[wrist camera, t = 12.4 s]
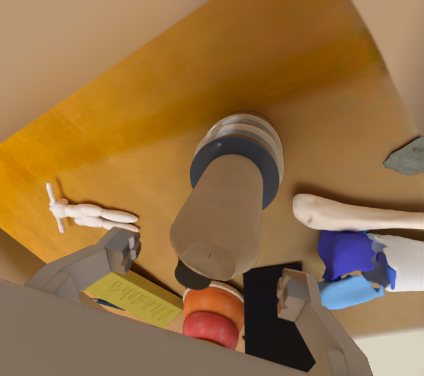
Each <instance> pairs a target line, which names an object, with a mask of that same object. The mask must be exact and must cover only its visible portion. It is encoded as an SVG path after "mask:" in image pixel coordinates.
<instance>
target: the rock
mask: <svg viewBox="0 0 424 376" xmlns="http://www.w3.org/2000/svg"><path fill="white" fill-rule="evenodd" d="M384 165H385V166H386V168H390V169H394V170H396V171H398V172H400V173H401V174H405V175H413V174H418V173H422V172H424V136H423V137H420V138H418V139H416V140H415V141H413V142H411V143H410V144H408V145H407V146H405V147H404V148H402V149H400V150H398V151H396V152H394V153H392V154H391V156H390V157H389V159H388V160H386V161H385V162H384Z"/></svg>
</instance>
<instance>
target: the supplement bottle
mask: <svg viewBox="0 0 424 376" xmlns="http://www.w3.org/2000/svg"><path fill="white" fill-rule="evenodd" d="M178 259H179V261H178V265H177V267H176V269H175V277H176V279H177V281H178V282H179V283H180V284H182V285H183V286H185V287H187V288H189V289H192V290H203V289H205V288H207V287H209V285H210V284H211V280H212V279H210V278H208V277H206V276H203V275H201V274H199V273H197V272H195V271H193V270H191V269H190V268H189V267H187V266H186V265H185V264H184V263H183V262H182V261H181V260H180V258H179V257H178Z"/></svg>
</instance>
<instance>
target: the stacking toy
mask: <svg viewBox="0 0 424 376" xmlns="http://www.w3.org/2000/svg"><path fill="white" fill-rule="evenodd" d="M183 303H184V317H185V320H184V324H183V335H186V336H190V337H193V338H196V339H199V340H203V341H206V342H209V343H212V344H216V345H219V346H222V347H225V348H229V349H232V350H235V348H236V346H237V343H238V338H239V332H240V331H241V329H242V327H243V325H244V296H243V295H242V294H241V293H240V292H239V291H237V290H236V289H235V288H233V287H231V286H229V285H227V284H225V283H221V282H218V281H211V284H210V285H209V287H207V288H205V289H203V290H192V289H189V288H187V289H186V290H185V292H184V294H183Z"/></svg>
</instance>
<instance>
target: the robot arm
mask: <svg viewBox="0 0 424 376" xmlns="http://www.w3.org/2000/svg"><path fill="white" fill-rule="evenodd" d="M139 238H140V233H138V232H135V231H132V230H128V229H124V228H120V227H116V226H114V227H112V228H111V229H110V230H109V231H108V232H107V233H106V234H105V235H104V236H103V237H102V238H101V239H100V241H99V242H98V243H97V244H96V245H95V246H94V245H91V246H89V247H87V248H84V249H82V250H79V251H77V252H75V253H72V254H70V255H68V256H65V257H63V258H60V259H58V260H56V261H53V262H51V263H49V264H46V265H45V266H44V267H43V268H42V269H40V270H39V271H38V272H37V273H36V274H35V275H34V276H33V277H32V278H30V279H29V280H28V281H27V282H26V283H25V284H24V285H21V284H17V283H14V282H11V281H8V280H4V279H1V278H0V376H373V374H372V371H371V368H370V365H369V362H368V359H367V357H366V356H365V354H364V353H363V352H362V351H361V350H360V348H359V347H358V346H357V345H356V343H355V342H354V341H353V340H352V338H351V337H350V336H349V335H348V333H347V332H346V331H345V330H344V328H343V327H342V326H341V325H340V323H339V322H338V321H337V320H336V318H335V317H334V316H333V315H332V313H331V312H330V311H329V310H328V308H327V307H326V306H323V305H322V301H321V296H320V292H319V288H318V283H317V279H316V276H315V275H313V274H309V273H304V272H301V271H296V270H292V269H288V268H284V269H283V271H282V277H280V278H279V281H278V285H277V297H278V298H279V302H278V304H277V309H278V317H279V318H282V319H285V320H289V321H292V322H295V324H296V326H297V328H298V330H299V332H300V334H301V335H302V337H303V339H304V341H305V343H306V345H307V346H308V348H309V350H310V352H311V354H312V356H313V358H314V359H315V361H316V364H315V365H314V366H313V367H312V368H311V369H310V371H309V372H308V373H307V372H303V371H300V370H297V369H294V368H290V367H287V366H284V365H281V364H277V363H274V362H271V361H268V360H264V359H261V358H258V357H255V356H251V355H248V354H245V353H242V352H238V351H235V350H232V349H229V348H225V347H222V346H219V345H216V344H212V343H209V342H206V341H203V340H199V339H196V338H193V337H190V336H186V335H183V334H180V333H177V332H173V331H170V330H167V329H164V328H160V327H157V326H154V325H151V324H147V323H144V322H141V321H138V320H134V319H131V318H128V317H125V316H121V315H118V314H115V313H112V312H108V311H105V310H101V309H99V308H95V307H92V306H89V305H85V304H82V303H81V300H80V297H79V295H78V293H80V292H81V291H83V290H85V289H86V288H88V287H89V286H91V285H92V284H94V283H95V282H97V281H98V280H100V279H102V278H103V277H105V276H106V275H108V274H109V273H111V271H112V272H116V273H120V274H124V275H126V273H127V272H128V270H129V269H130V267H131V266H132V261H133V260H135V259H136V258H137V257H138V255H139V253H140V250H141V242H140V241H139Z"/></svg>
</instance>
